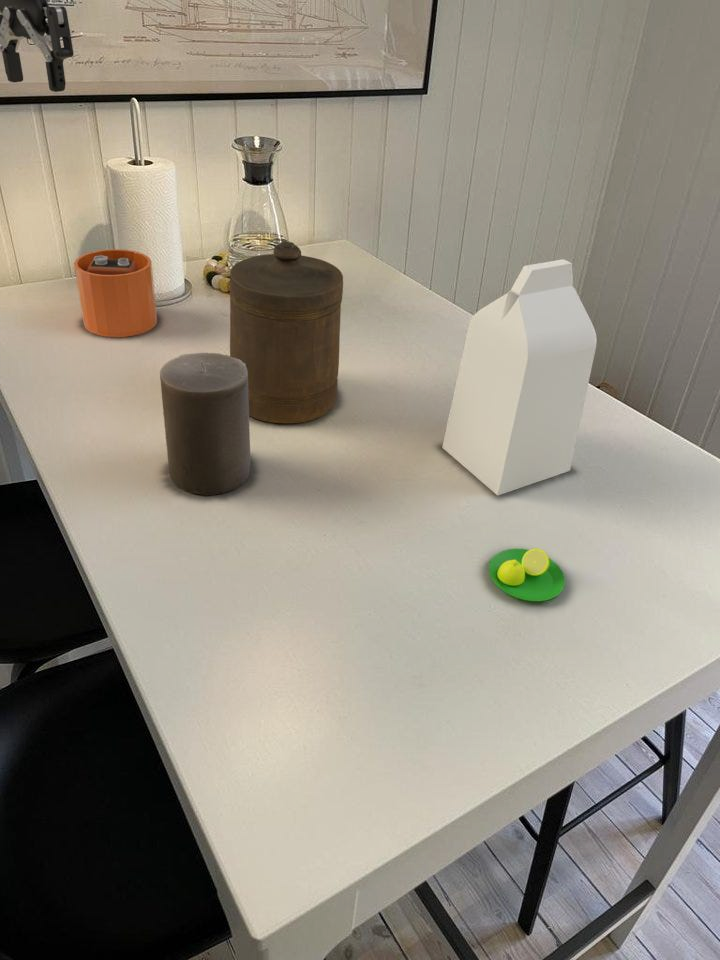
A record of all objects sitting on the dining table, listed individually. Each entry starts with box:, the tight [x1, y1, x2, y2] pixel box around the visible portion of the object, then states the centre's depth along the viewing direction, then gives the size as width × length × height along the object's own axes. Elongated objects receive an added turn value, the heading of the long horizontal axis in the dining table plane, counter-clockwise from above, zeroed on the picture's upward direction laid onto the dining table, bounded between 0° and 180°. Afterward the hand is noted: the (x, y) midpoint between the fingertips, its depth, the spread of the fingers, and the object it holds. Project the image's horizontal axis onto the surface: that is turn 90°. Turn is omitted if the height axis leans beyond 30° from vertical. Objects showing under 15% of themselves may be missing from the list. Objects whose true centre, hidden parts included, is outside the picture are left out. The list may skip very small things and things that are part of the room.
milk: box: [441, 258, 598, 496], centre depth 90 cm, size 12×12×26 cm
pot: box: [73, 248, 158, 338], centre depth 120 cm, size 11×11×10 cm
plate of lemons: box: [488, 547, 566, 602], centre depth 79 cm, size 8×8×3 cm
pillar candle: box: [159, 352, 251, 496], centre depth 87 cm, size 10×10×15 cm
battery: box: [87, 255, 137, 275], centre depth 119 cm, size 4×7×10 cm, turn 93°
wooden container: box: [229, 241, 344, 424], centre depth 100 cm, size 15×15×22 cm
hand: (36, 86), depth 108 cm, fingers open, 8 cm apart
